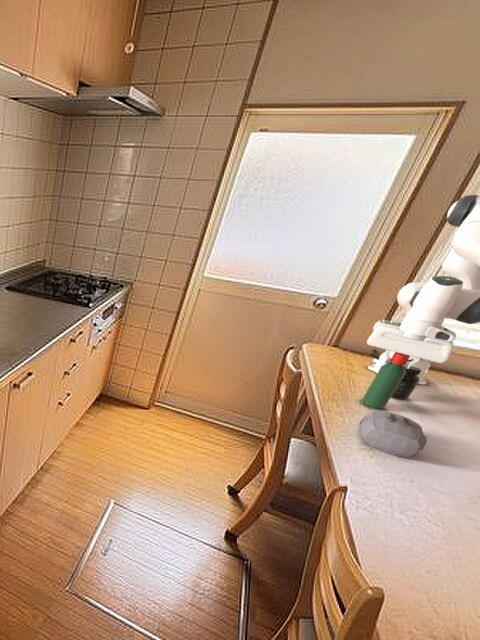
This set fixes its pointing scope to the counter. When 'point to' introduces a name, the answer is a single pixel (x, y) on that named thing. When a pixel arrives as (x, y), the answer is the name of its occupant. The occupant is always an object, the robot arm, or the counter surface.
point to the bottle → (384, 385)
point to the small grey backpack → (392, 433)
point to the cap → (399, 358)
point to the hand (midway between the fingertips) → (396, 365)
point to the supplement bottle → (407, 383)
